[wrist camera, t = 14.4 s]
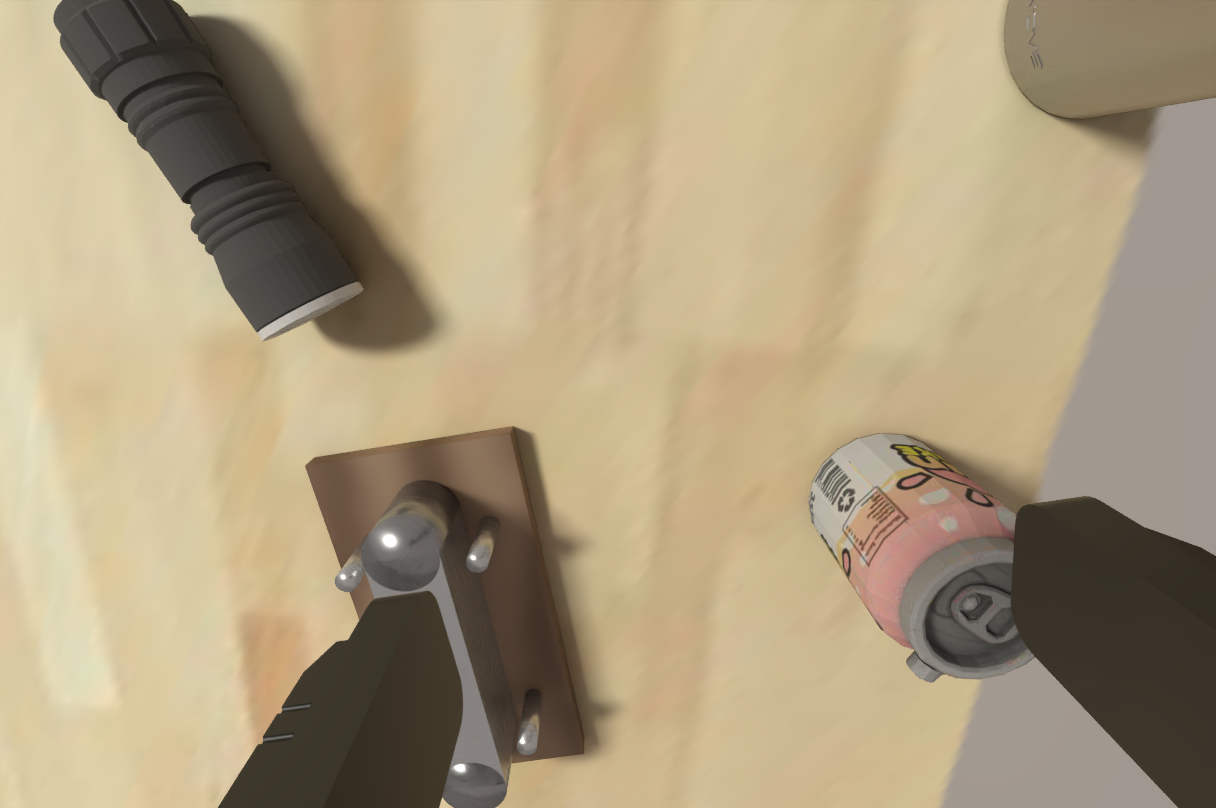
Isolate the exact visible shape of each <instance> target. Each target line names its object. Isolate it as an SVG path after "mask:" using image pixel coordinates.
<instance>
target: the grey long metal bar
mask: <svg viewBox="0 0 1216 808" xmlns="http://www.w3.org/2000/svg"><path fill="white" fill-rule="evenodd" d="M470 548H471V543H470V539H469V536H468V532H467V528H466V525H465V521H464V517H463V513H462V510H461V506H460V503H459V501H458V499H457V497H456V496H455V494H454V493H453V492H452V491H451V490H450V489H449V488H447V487H446V486H444V485H442V484H440V483H438V482H434V481H429V480H419V481H414V482H411V483H409V484H407V485H405V486H404V487H403V488H402V489H401V490H400V491H399V492H398V493H397V495H396V496H395V498H394V499H393V500H392V502H391V503H390V505H389V506H388V508H387V509H386V510H385V512H384V513H383V515H382V516H381V518H380V519H379V520H378V522H377V523H376V525H375V526H374V528H373V529H372V530H371V532H370V533H369V535H368V536H367V538H366V539H365V541H364V543H363V545H362V550H361V559H362V563H363V566H364V569H365V572H366V575H367V578H368V581H369V584H370V587H371V590H372V593H373V596H374V599H375V598H381V597H387V596H394V595H401V594H408V593H415V592H422V591H430V592H432V593H433V595H434V596H435V598H436V600H437V602H438V605H439V608H440V611H441V615H442V618H443V621H444V625H445V628H446V631H447V635H448V638H449V641H450V645H451V648H452V651H453V655H454V658H455V661H456V665H457V668H458V671H459V675H460V678H461V683H462V691H463V715H462V723H461V728H460V732H459V735H458V739H457V743H456V747H455V750H454V754H453V758H452V761H451V765H450V769H449V773H448V776H447V780H446V784H445V787H444V791H443V795H442V797H443V799H444V800H445V801H446V802H447V803H448V804H449V805H451V806H452V807H454V808H495V807H497V806H498V805H499V804H500V803H501V802H502V801H503V800H504V798H505V796H506V792H507V786H508V780H509V774H510V768H511V761H512V755H513V749H514V743H515V737H516V731H517V724H518V717H517V713H516V709H515V706H514V702H513V698H512V695H511V691H510V687H509V684H508V680H507V676H506V672H505V669H504V665H503V661H502V658H501V654H500V650H499V647H498V643H497V639H496V636H495V632H494V628H493V624H492V621H491V617H490V613H489V610H488V606H487V602H486V599H485V595H484V591H483V587H482V584H481V580H480V576H479V573H475V572H472V571H470V570H469V569H468V568H467V566H466V559H467V556H468V553H469V551H470Z"/></svg>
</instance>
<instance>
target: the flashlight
mask: <svg viewBox="0 0 1216 808" xmlns="http://www.w3.org/2000/svg"><path fill="white" fill-rule="evenodd" d="M54 23H55V26H56V28H57V29H58V30H59V32H60V33H61V37H60V44H61V47H62V49H63V51H64V52H65V54H66V55H67V57H68V58H69V59H70V61H71V62H72V64H73V65H74V67H75V68H76V70H77V71H78V72H79V74H80V75H81V77H82V78H83V80H84V81H85V82H86V84H87V85H88V87H89V88H90V90H91V91H92V92H93V93H94V95H95V96H97V97H99V98H101V99H103V100H106V101H108V103H109V104H110V105H111V107H112V108H113V110H114V111H115V113H116V114H117V116H118V117H119V118H120V119H121V120H122V121H124V122H127V123H128V129H129V131H130V133H131V134H132V135H134V136H135V137H136V138H137V143H138V144H139V145H140V146H141V147H142V148H143V149H144V150H146V151H147V152H149V154H150V155H151V157H152V158H153V159H154V161H155V162H156V164H157V165H158V167H159V168H160V170H161V171H162V172H163V174H164V175H165V177H166V178H167V180H168V181H169V183H170V184H171V185H172V187H173V188H174V190H175V191H176V193H177V194H178V196H179V197H180V198H181V200H182V201H183V202H184V203H186V204H191V206H190V207H191V209H192V211H193V212H194V214H195V216H194V217H193V219H192V221H191V230H192V231H193V232H194V233H195V234H197V235H198V240H199V241H200V242H201V243H202V244H204V245H205V249H206V252H207V253H209V254H210V255H213V256H214V259H215V262H216V264H217V267H218V269H219V272H220V275H221V277H222V280H223V283H224V285H225V288H226V289H227V291H228V292H229V294H230V295H231V296H232V298H233V299H234V301H235V302H236V304H237V305H238V306H239V308H240V309H241V311H242V312H243V314H244V315H245V316H246V318H247V319H248V321H249V322H250V323H251V325H252V326H253V328H254V329H255V331H256V332H258V333H257V334H258V335H259V336H260V338H261V339H262V341H266V340H269V339H272V338H274V337H277V336H279V335H281V334H284V333H286V332H288V331H290V330H292V329H294V328H296V327H298V326H301V325H303V324H305V323H307V322H309V321H311V320H313V319H315V318H317V317H319V316H320V315H322V314H324V313H326V312H328V311H330V310H332V309H333V308H335V307H337V306H339V305H340V304H342V303H344V302H346V301H348V300H350V299H351V298H353V297H355V296H356V295H358V294H359V293H361V292H362V291H363V290H364V289H363V287H362V286H361V284H360V282H358V279H357V278H356V276H355V275H354V273H353V271H352V270H351V268H350V267H349V265H348V263H347V262H346V260H345V259H344V257H343V255H342V254H341V252H340V251H339V249H338V247H337V246H336V244H335V243H334V241H333V239H332V238H331V237H330V236H329V235H328V234H327V233H326V232H325V231H324V230H323V229H322V228H321V227H320V226H319V225H318V224H317V223H316V222H315V221H314V220H313V219H312V218H311V217H310V216H309V215H308V214H307V207H306V206H305V205H304V204H303V203H301V198H300V196H299V195H298V194H297V193H295V190H294V186H293V185H292V184H290V183H288V182H286V181H283V180H276V178H275V177H274V175H273V174H272V173H271V172H268V171H269V170H270V164H269V162H268V161H267V159H266V158H265V156H264V154H263V153H262V151H261V150H260V148H259V147H258V145H257V143H256V142H255V140H254V139H253V137H252V136H251V134H250V132H249V131H248V129H247V128H246V126H245V124H244V123H243V121H242V120H241V118H240V117H239V110H238V107H237V106H236V105H235V104H234V103H233V102H232V101H231V98H230V94H229V93H228V92H227V91H225V90H223V89H222V81H221V79H220V77H219V76H218V74H217V73H216V71H215V69H214V68H213V66H212V65H211V62H212V52H211V51H210V49H209V47H208V46H207V44H206V43H205V41H204V39H203V38H202V36H201V35H200V33H199V32H198V30H197V28H196V27H195V25H194V24H193V22H192V20H191V19H190V17H189V16H188V14H187V13H185V11H184V9H183V8H182V7H181V6H180V5H179V4H178V3H176V2H175V1H173V0H62V1H61V3H60V4H59V5H58V6H57V8H56V10H55V13H54Z"/></svg>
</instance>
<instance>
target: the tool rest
mask: <svg viewBox="0 0 1216 808" xmlns="http://www.w3.org/2000/svg"><path fill="white" fill-rule="evenodd" d="M305 467H306V470H307V473H308V476H309V479H310V481H311V484H312V487H313V490H314V493H315V496H316V498H317V501H318V504H319V507H320V510H321V513H322V515H323V518H324V521H325V524H326V527H327V530H328V532H329V535H330V538H331V541H332V544H333V546H334V549H335V552H336V555H337V558H338V561H339V563H340V566H341V571H340V572H339V574H338V575H337V576H336V578H335V584H336V586H337V588H339V589H340V590H342V591H344V592H350V595H351V597H352V600H353V603H354V606H355V609H356V612H357V614H358V617H359V620H360V619H361V617H362V615H363V613H364V612H365V610H366V608H367V607H368V605H369V604H370V602H371V601H372V600H373V599H374V596H373V593H372V590H371V587H370V584H369V581H368V578H367V575H366V572H365V569H364V566H363V563H362V559H361V550H362V545H363V543H364V541H365V539H366V538H367V536H368V535H369V533H370V532H371V530H372V529H373V528H374V526H375V525H376V523H377V522H378V520H379V519H380V518H381V516H382V515H383V513H384V512H385V510H386V509H387V508H388V506H389V505H390V503H391V502H392V500H393V499H394V498H395V496H396V495H397V493H398V492H399V491H400V490H401V489H402V488H403V487H404V486H405V485H407V484H409V483H411V482H414V481H419V480H429V481H434V482H438V483H440V484H442V485H444V486H446V487H447V488H449V489H450V490H451V491H452V492H453V493H454V494H455V496H456V497H457V499H458V501H459V503H460V506H461V510H462V513H463V517H464V521H465V525H466V528H467V532H468V536H469V539H470V543H471V548H470V551H469V553H468V556H467V559H466V566H467V568H468V569H469V570H470V571H472V572H475V573H479V576H480V580H481V584H482V587H483V591H484V595H485V599H486V602H487V606H488V610H489V613H490V617H491V621H492V624H493V628H494V632H495V636H496V639H497V643H498V647H499V650H500V654H501V658H502V661H503V665H504V669H505V672H506V676H507V680H508V684H509V687H510V691H511V695H512V698H513V702H514V706H515V709H516V713H517V717H518V724H517V731H516V737H515V743H514V749H513V755H512V761H511V763H518V762H525V761H533V760H540V759H548V758H556V757H563V756H571V755H578V754H584V735H583V731H582V726H581V722H580V718H579V713H578V709H577V704H576V700H575V696H574V691H573V687H572V683H571V678H570V674H569V669H568V665H567V661H566V656H565V652H564V648H563V643H562V639H561V634H560V630H559V626H558V621H557V617H556V612H555V608H554V604H553V599H552V595H551V591H550V586H549V582H548V577H547V573H546V569H545V564H544V560H543V556H542V551H541V547H540V542H539V538H538V534H537V529H536V525H535V521H534V516H533V512H532V507H531V503H530V499H529V494H528V490H527V486H526V481H525V477H524V472H523V468H522V464H521V459H520V455H519V450H518V446H517V442H516V437H515V433H514V429H513V426H512V427H506V428H499V429H493V430H487V431H480V432H474V433H468V434H461V435H455V436H449V437H442V438H436V439H429V440H423V441H417V442H410V443H404V444H398V445H391V446H385V447H379V448H372V449H366V450H360V451H353V452H347V453H340V454H334V455H328V456H321V457H315V458H313V459H312V460H311V461H310V462H309V463H308V464H307V465H306V466H305Z"/></svg>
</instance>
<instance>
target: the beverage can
mask: <svg viewBox="0 0 1216 808" xmlns="http://www.w3.org/2000/svg"><path fill="white" fill-rule="evenodd" d="M808 503H809V509H810V516H811V521H812V523H813V525H814V526H815V528H816V530H817V532H818V533H819V535H820V537H821V538H822V540H823V541H824V543H825V544H826V546H827V548H828V549H829V551H830V552H831V554H832V555H833V557H834V558H835V560H836V561H837V563H838V564H839V566H840V568H841V569H842V571H843V572H844V574H845V575H846V577H847V578H848V580H849V581H850V583H851V585H852V586H853V588H854V589H855V591H856V592H857V594H858V595H859V597H860V598H861V600H862V602H863V603H864V605H865V606H866V608H867V609H868V611H869V612H870V614H871V615H872V617H873V618H874V620H875V622H876V623H877V625H878V626H879V628H880V629H881V630H882V631H884V632H885V633H886V634H887V635H889V636H890V637H891V638H893V639H894V640H895V641H896V642H898V643H899V644H900V645H902V646H904V647H907V648H910V649H913V650H915V651H914V652H913V653H912V654H911V655H910V656H909V657H908V658H907V661H906V663H907V665H908V667H909V668H910V670H911V671H912V672H913V673H914V674H915V675H916V676H918V677H919V678H920V679H923V680H925V681H928V682H934V681H935V680H936V679H937V678H938V677H940V676H941V675H944V674H946V675H949V676H952V677H954V678H963V679H984V678H989V677H994V676H999V675H1003V674H1006V673H1008V672H1010V671H1012V670H1014V669H1017V668H1019V667H1021V666H1023V665H1025V664H1027V663H1028V662H1029V661H1031V660H1032V659H1033V658H1035V656H1034V655H1033V654H1032V653H1031V651H1030V650H1029V649H1028V648H1027V646H1026V645H1025V643H1024V642H1023V640H1022V638H1021V637H1020V635H1019V633H1018V630H1017V628H1016V625H1015V623H1014V619H1013V616H1012V611H1011V586H1012V568H1013V551H1014V534H1015V521H1016V516H1017V515H1016V514H1015V513H1014V512H1013V511H1011V510H1010V509H1009V508H1007V507H1006V506H1005V505H1003V504H1002V503H1001V502H999V501H998V500H997V499H995V498H994V497H993V496H991V495H990V494H989V493H987V492H986V491H985V490H984V489H982V488H981V487H980V486H978V485H977V484H976V483H974V482H973V481H972V480H970V479H969V478H968V477H966V476H965V475H964V474H962V473H961V472H960V471H959V470H957V469H956V468H955V467H953V466H952V465H951V464H949V463H948V462H947V461H945V460H944V459H943V458H941V457H940V456H939V455H937V454H936V453H935V452H933V451H932V450H931V449H930V448H928V447H927V446H926V445H924V444H923V443H922V442H919V441H917V440H914V439H911V438H909V437H906V436H904V435H896V434H880V433H878V434H873V435H869V436H865V437H860V438H856V439H855V440H853V441H851V442H849V443H847V444H845V445H844V446H842V447H840V448H838V449H837V450H836V451H835V452H834V453H833V454H832V455H831V456H830V457H829V458H828V459H826V460H825V461H824V462H823V463H822V465H821V467H820V468H819V470H818V472H817V474H816V476H815V477H814V479H813V481H812V485H811V490H810V495H809V502H808Z"/></svg>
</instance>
